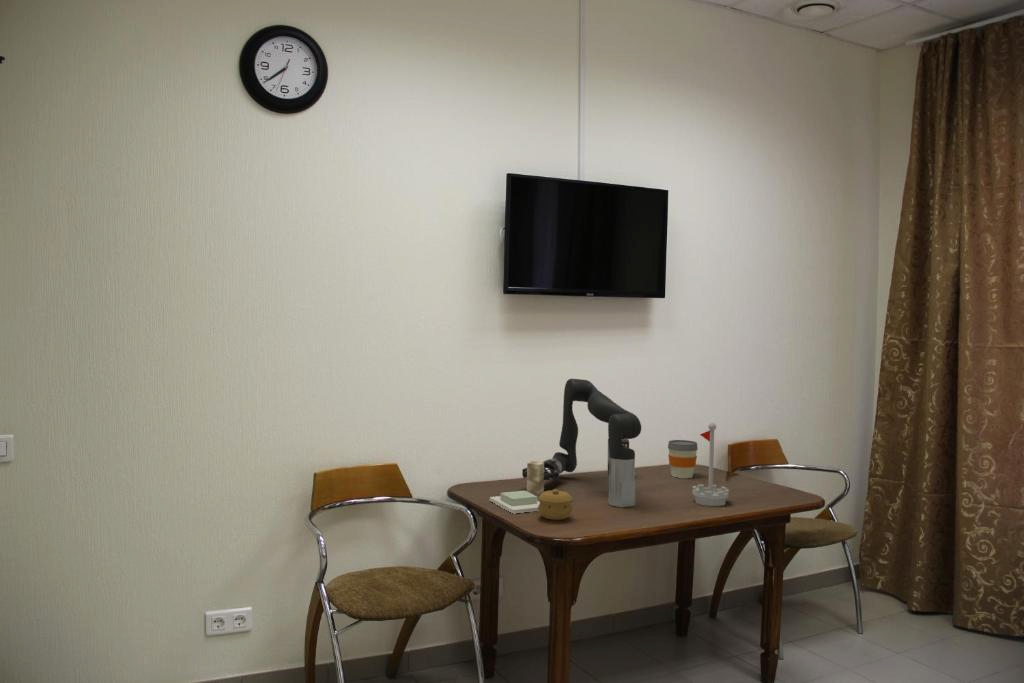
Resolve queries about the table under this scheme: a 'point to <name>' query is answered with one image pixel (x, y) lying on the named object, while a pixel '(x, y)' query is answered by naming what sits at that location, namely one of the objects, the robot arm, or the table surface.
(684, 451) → the reusable coffee cup
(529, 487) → the birch column
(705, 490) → the flag stand
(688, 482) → the table surface
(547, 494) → the pot
